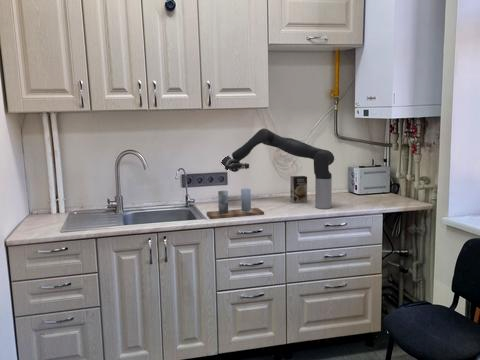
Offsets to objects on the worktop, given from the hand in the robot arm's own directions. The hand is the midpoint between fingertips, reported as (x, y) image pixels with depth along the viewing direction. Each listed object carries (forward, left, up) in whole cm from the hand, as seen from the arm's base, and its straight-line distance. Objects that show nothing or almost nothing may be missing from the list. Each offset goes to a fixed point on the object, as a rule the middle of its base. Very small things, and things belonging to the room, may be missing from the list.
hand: (239, 167), depth 254 cm
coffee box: (-33, +23, -25) cm, 47 cm away
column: (+10, +10, -23) cm, 27 cm away
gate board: (+15, +5, -25) cm, 29 cm away
